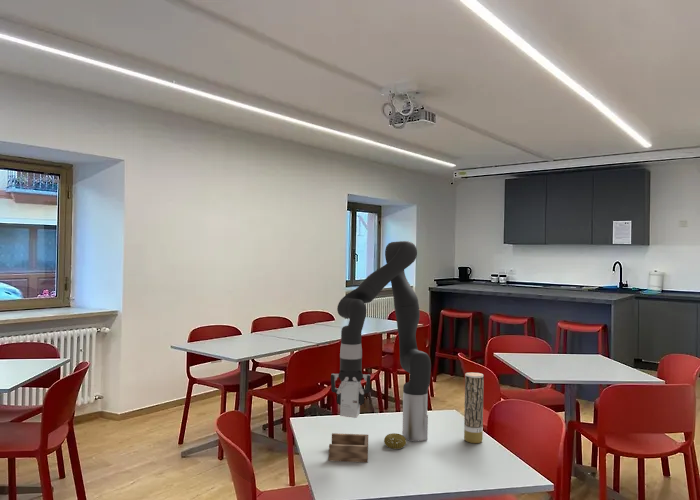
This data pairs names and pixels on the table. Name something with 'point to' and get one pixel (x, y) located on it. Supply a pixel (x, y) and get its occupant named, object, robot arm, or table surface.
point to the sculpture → (395, 441)
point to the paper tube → (473, 407)
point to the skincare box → (350, 400)
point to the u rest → (349, 448)
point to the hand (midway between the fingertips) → (350, 404)
